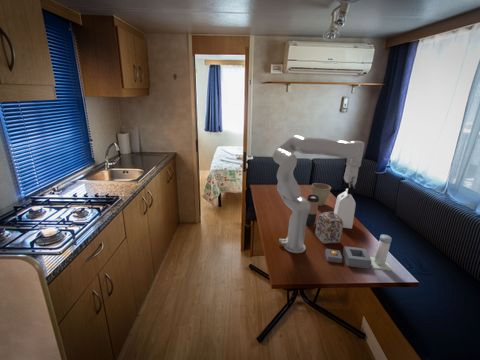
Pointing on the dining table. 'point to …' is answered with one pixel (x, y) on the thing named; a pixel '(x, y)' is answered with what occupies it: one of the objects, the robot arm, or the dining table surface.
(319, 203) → the plant pot
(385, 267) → the mat
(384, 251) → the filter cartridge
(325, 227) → the decorative jar
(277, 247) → the dining table surface
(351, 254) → the grey square holder
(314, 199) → the travel mug
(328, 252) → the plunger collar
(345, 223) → the milk
